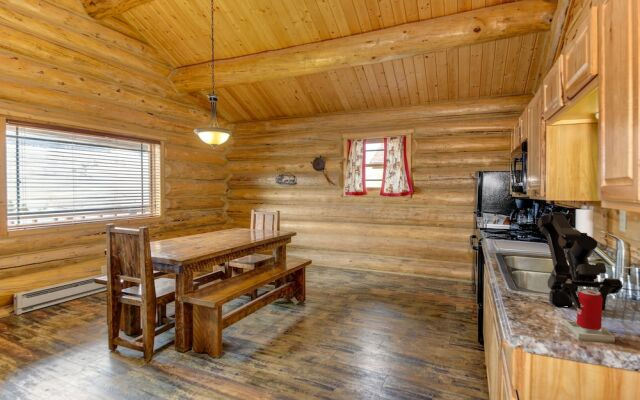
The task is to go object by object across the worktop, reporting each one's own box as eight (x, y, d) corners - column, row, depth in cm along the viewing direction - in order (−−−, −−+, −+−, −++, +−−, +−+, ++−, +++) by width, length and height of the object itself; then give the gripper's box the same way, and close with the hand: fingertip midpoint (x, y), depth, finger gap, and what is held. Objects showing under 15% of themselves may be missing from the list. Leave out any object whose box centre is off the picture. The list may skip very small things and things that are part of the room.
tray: (597, 328, 115) (597, 322, 114) (614, 342, 105) (614, 336, 105) (565, 326, 117) (565, 320, 117) (578, 339, 108) (578, 333, 108)
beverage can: (588, 322, 115) (589, 287, 113) (606, 331, 109) (608, 294, 107) (571, 324, 114) (573, 288, 113) (588, 333, 108) (590, 295, 106)
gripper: (553, 251, 116) (563, 295, 106) (621, 254, 110) (638, 301, 100) (545, 267, 124) (554, 309, 114) (608, 271, 118) (623, 316, 108)
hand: (591, 309), depth 109 cm, fingers closed on beverage can, 6 cm apart
